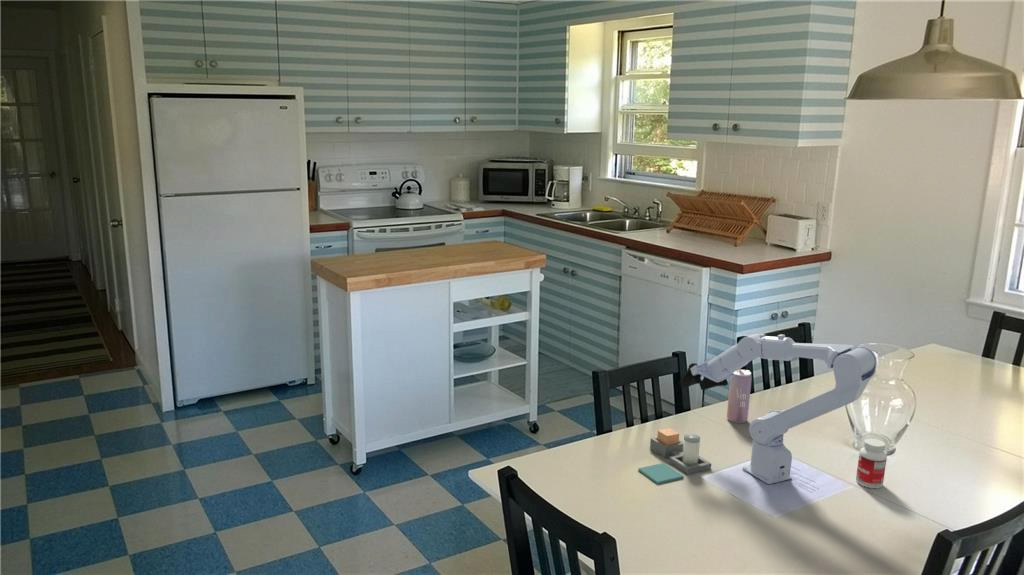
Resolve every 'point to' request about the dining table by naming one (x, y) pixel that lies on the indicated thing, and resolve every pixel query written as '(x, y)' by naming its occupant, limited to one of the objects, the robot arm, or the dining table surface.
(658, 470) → the mat
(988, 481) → the dining table surface
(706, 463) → the housing
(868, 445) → the pill bottle
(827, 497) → the dining table surface
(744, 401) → the beverage can
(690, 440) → the cylinder
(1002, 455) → the dining table surface
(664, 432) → the orange cube
